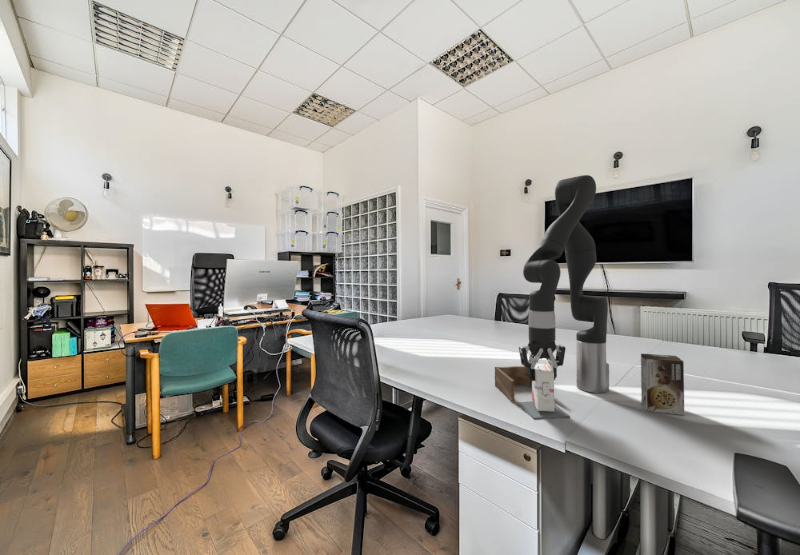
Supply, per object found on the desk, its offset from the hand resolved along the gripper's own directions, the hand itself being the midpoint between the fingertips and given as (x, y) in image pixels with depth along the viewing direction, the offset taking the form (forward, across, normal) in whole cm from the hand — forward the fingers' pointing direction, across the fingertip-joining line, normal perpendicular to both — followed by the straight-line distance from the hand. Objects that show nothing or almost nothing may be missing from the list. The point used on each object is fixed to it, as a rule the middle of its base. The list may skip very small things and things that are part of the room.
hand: (542, 379), depth 98 cm
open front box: (+10, 0, -14) cm, 17 cm away
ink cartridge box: (+8, 0, 0) cm, 8 cm away
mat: (+9, 0, 0) cm, 9 cm away
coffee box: (+10, -36, +3) cm, 37 cm away
